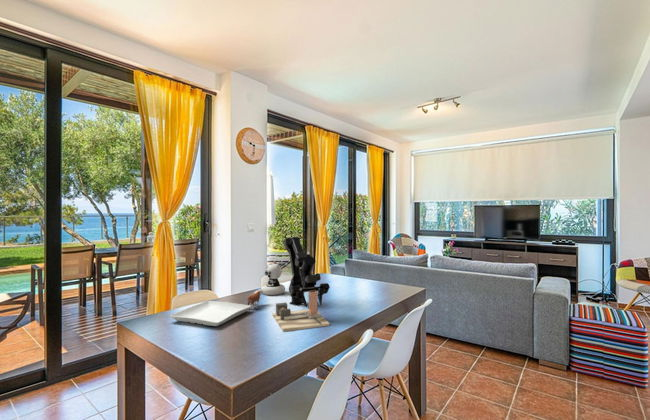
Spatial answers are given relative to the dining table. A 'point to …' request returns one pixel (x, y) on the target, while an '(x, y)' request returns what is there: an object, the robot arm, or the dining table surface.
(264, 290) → the decorative figurine
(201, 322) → the square plate
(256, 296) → the bull figurine
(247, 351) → the dining table surface
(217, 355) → the dining table surface
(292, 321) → the press base
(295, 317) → the slider
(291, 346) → the dining table surface
